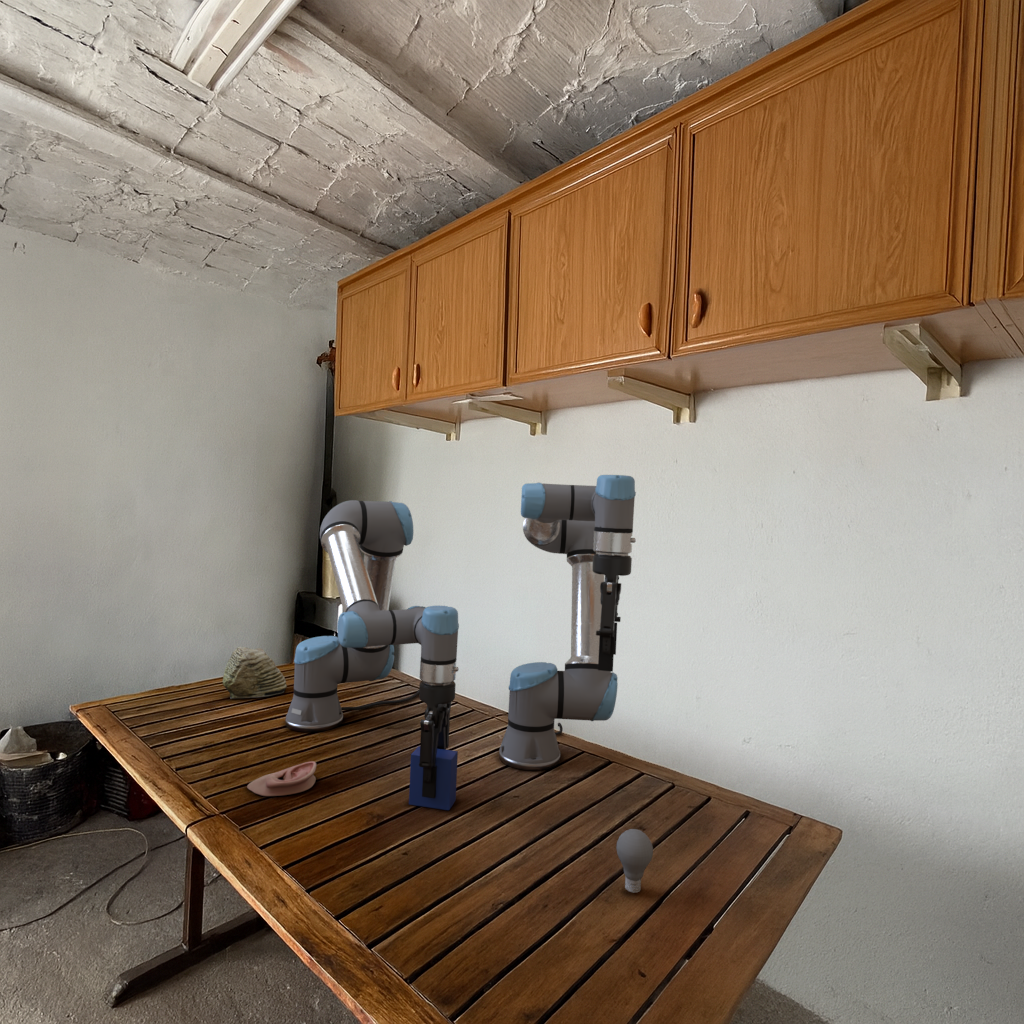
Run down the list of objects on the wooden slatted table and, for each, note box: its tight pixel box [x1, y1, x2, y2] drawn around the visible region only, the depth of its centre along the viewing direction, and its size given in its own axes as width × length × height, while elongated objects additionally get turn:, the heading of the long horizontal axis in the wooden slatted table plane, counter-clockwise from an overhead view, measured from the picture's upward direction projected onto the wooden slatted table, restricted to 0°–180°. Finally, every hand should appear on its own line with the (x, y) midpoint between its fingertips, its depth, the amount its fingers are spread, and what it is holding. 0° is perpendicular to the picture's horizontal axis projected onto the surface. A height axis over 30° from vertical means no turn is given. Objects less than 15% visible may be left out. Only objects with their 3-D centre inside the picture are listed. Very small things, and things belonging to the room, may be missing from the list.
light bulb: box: [615, 828, 654, 894], centre depth 106 cm, size 6×6×10 cm
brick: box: [408, 745, 459, 811], centre depth 133 cm, size 9×5×11 cm, turn 79°
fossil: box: [222, 646, 288, 699], centre depth 198 cm, size 9×18×15 cm, turn 132°
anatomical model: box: [246, 760, 317, 797], centre depth 138 cm, size 13×4×12 cm
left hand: (433, 790), depth 133 cm, fingers closed on brick, 5 cm apart
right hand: (607, 661), depth 124 cm, fingers open, 13 cm apart
